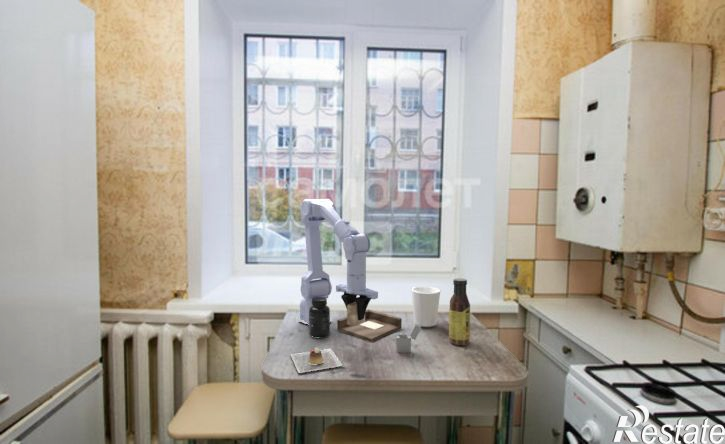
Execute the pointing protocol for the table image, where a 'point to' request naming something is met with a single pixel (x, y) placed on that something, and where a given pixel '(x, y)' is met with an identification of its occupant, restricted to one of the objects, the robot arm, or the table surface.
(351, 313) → the maple block
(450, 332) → the sauce bottle
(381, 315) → the corner board
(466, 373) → the table surface
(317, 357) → the dessert
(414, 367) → the table surface
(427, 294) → the cup
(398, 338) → the lighter
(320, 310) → the supplement bottle
